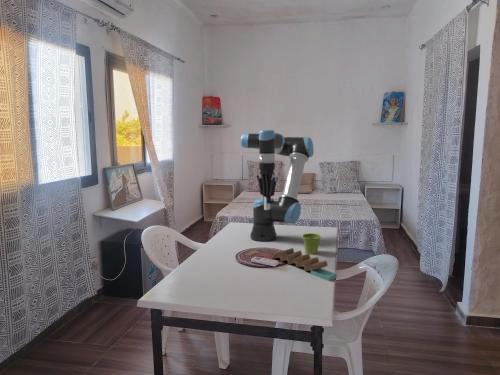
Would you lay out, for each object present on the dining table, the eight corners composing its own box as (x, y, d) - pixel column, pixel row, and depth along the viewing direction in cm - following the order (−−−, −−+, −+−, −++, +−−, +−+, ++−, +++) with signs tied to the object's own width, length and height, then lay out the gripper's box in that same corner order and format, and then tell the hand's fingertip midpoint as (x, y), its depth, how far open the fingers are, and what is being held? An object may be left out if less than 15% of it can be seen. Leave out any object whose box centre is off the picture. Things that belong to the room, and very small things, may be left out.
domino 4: (295, 262, 171) (309, 259, 163) (303, 260, 174) (317, 257, 166) (296, 267, 171) (311, 264, 163) (304, 264, 174) (319, 261, 166)
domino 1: (272, 254, 182) (285, 250, 175) (279, 252, 186) (292, 248, 178) (273, 259, 182) (287, 254, 175) (280, 256, 185) (294, 252, 178)
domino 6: (310, 270, 163) (329, 277, 155) (318, 267, 166) (336, 273, 158) (310, 274, 163) (329, 282, 156) (318, 272, 166) (336, 278, 159)
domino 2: (279, 257, 179) (293, 252, 171) (286, 254, 182) (300, 250, 174) (280, 261, 178) (294, 257, 171) (288, 259, 181) (302, 255, 174)
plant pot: (319, 256, 186) (319, 239, 184) (300, 254, 189) (300, 237, 187) (321, 250, 194) (322, 234, 193) (303, 248, 198) (304, 232, 196)
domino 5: (303, 266, 166) (317, 263, 158) (311, 263, 169) (326, 260, 161) (304, 271, 166) (319, 268, 158) (313, 268, 169) (327, 265, 161)
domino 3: (286, 259, 175) (301, 256, 168) (294, 257, 178) (309, 253, 171) (288, 264, 175) (303, 260, 167) (295, 262, 178) (310, 258, 170)
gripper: (252, 161, 185) (252, 208, 189) (270, 163, 175) (270, 212, 179) (263, 160, 189) (263, 206, 193) (281, 162, 180) (281, 210, 184)
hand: (267, 209), depth 186 cm, fingers closed
